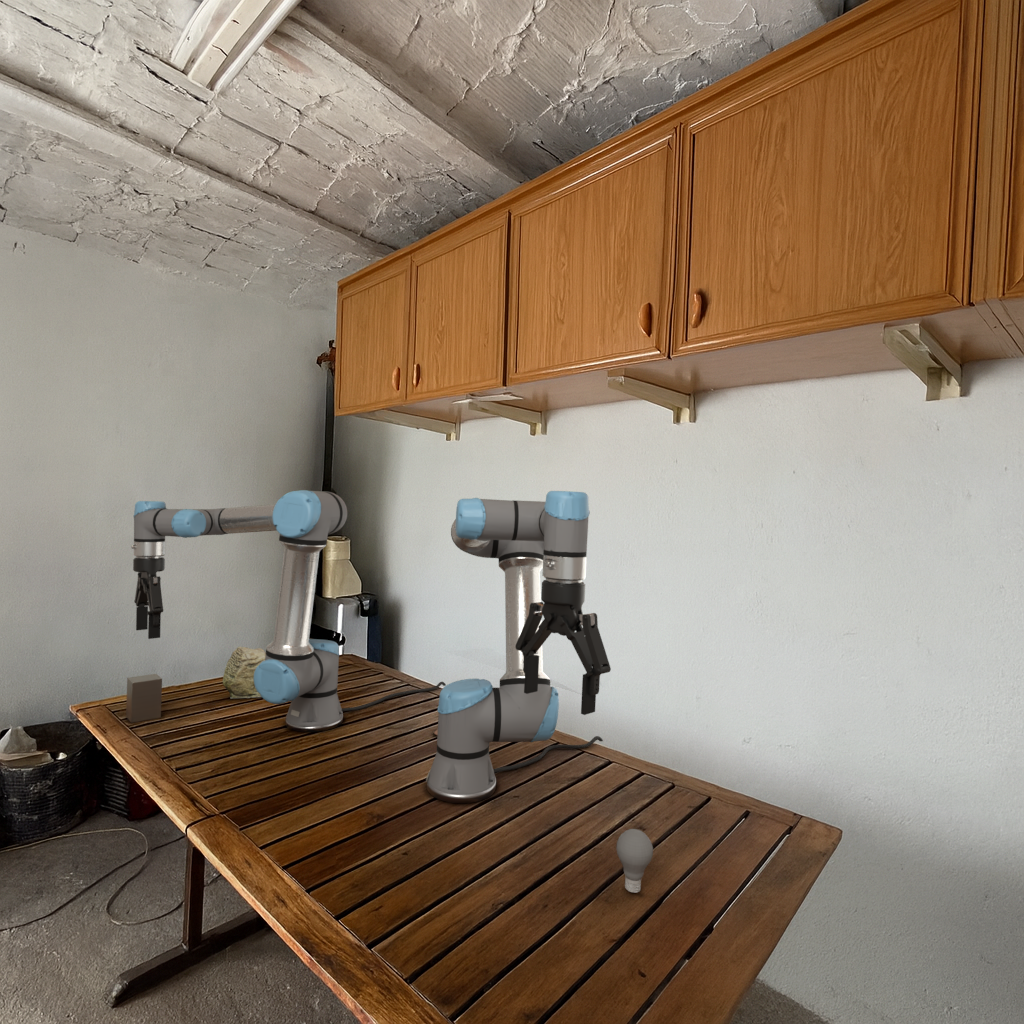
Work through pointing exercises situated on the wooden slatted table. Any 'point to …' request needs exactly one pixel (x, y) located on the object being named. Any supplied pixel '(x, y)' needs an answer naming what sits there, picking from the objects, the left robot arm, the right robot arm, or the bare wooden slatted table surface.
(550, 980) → the wooden slatted table surface
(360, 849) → the wooden slatted table surface
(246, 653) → the fossil
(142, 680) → the grey boxy piece
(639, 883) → the light bulb
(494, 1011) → the wooden slatted table surface
